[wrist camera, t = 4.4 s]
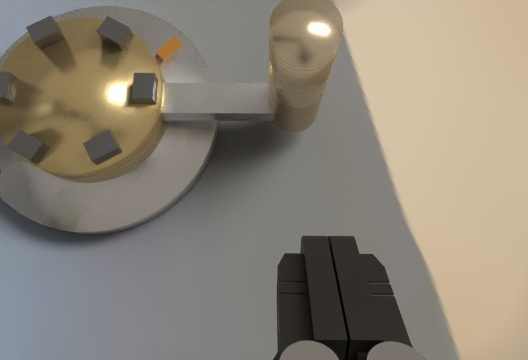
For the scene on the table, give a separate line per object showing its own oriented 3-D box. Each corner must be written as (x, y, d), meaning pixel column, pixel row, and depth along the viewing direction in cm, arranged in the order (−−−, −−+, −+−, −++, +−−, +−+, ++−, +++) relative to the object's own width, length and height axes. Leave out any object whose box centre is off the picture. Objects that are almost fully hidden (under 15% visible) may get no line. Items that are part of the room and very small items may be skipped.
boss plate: (53, 283, 26) (38, 283, 24) (-48, 90, 29) (-68, 78, 27) (263, 150, 28) (263, 141, 26) (147, -17, 31) (140, -34, 29)
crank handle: (6, 182, 26) (-133, 130, 17) (29, 40, 28) (-82, -72, 19) (318, 184, 26) (348, 133, 17) (315, 42, 28) (338, -70, 19)
